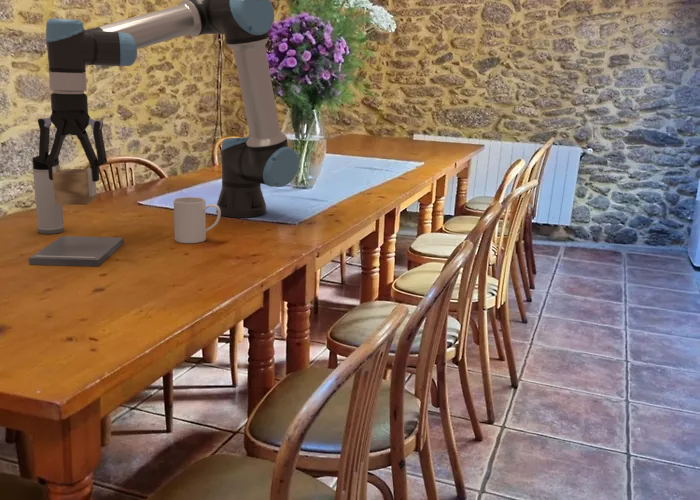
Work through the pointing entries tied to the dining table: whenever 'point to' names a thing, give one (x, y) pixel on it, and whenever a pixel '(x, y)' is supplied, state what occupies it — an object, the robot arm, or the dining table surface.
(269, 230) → the dining table surface
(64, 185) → the oak cube
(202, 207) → the mug
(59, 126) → the robot arm
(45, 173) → the travel mug
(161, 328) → the dining table surface
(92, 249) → the slate board
